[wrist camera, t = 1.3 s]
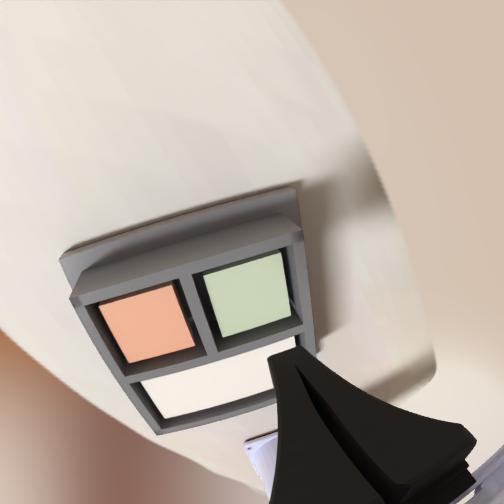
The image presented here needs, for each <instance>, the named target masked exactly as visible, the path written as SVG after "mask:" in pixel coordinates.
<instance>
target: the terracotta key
mask: <svg viewBox="0 0 504 504" xmlns="http://www.w3.org/2000/svg"><path fill="white" fill-rule="evenodd" d="M99 308H100V310H101V312H102V314H103V316H104V318H105V320H106V322H107V324H108V326H109V328H110V330H111V332H112V334H113V335H114V337H115V339H116V341H117V343H118V345H119V346H120V348H121V350H122V352H123V353H124V355H125V357H126V359H127V360H128V362H129V363H132V362H136V361H140V360H144V359H148V358H152V357H156V356H159V355H163V354H167V353H171V352H174V351H178V350H182V349H185V348H189V347H192V346H195V342H194V337H193V331H192V328H191V325H190V323H189V320H188V318H187V315H186V312H185V310H184V307H183V304H182V302H181V299H180V296H179V293H178V291H177V288H176V285H175V282H174V280H171V281H167V282H164V283H161V284H157V285H154V286H150V287H147V288H143V289H140V290H137V291H133V292H130V293H126V294H123V295H120V296H116V297H113V298H109V299H106V300H102V301H100V303H99Z"/></svg>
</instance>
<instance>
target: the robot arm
mask: <svg viewBox="0 0 504 504" xmlns="http://www.w3.org/2000/svg"><path fill="white" fill-rule="evenodd" d="M267 362H268V366H269V371H270V375H271V379H272V383H273V387H274V390H275V393H276V399H277V414H278V432H275V433H272V434H269V435H266V436H263V437H260V438H257V439H254V440H250V441H247V442H245V443H244V444H243V446H244V449H245V451H246V453H247V455H248V457H249V459H250V461H251V463H252V465H253V467H254V468H255V470H256V472H257V474H258V476H259V477H260V478H261V481H262V483H263V486H264V489H265V491H266V494H267V497H268V499H269V504H456V503H457V502H459V501H460V500H462V499H463V498H464V497H465V496H467V495H468V494H469V493H470V492H471V491H473V490H474V489H475V488H476V489H475V494H474V496H473V497H472V498H471V499H470V500H469V501H467V502H466V503H465V504H504V445H503V446H502V447H501V448H500V449H499V450H498V451H497V452H496V453H495V454H494V455H493V456H491V457H490V458H489V459H488V460H487V461H486V462H485V463H484V464H482V465H481V466H480V467H479V468H478V469H477V470H476V471H474V472H473V473H472V474H471V473H470V472H469V471H468V470H467V468H468V467H469V465H468V463H467V462H466V461H465V458H466V457H467V456H468V455H469V453H470V452H471V451H472V450H473V448H474V447H475V445H476V442H477V440H476V439H475V437H474V436H473V435H472V434H471V433H470V432H469V431H468V430H467V429H466V428H465V427H464V426H463V425H462V424H458V423H452V422H446V421H441V420H437V419H432V418H429V417H424V416H421V415H418V414H415V413H412V412H409V411H406V410H403V409H401V408H398V407H395V406H393V405H391V404H388V403H386V402H384V401H382V400H380V399H378V398H375V397H373V396H372V395H370V394H368V393H366V392H364V391H362V390H361V389H359V388H357V387H356V386H354V385H352V384H351V383H349V382H348V381H346V380H345V379H343V378H342V377H340V376H339V375H338V374H336V373H335V372H333V371H332V370H331V369H329V368H328V367H327V366H325V365H324V364H323V363H322V362H320V361H319V360H318V359H317V358H315V357H314V356H313V355H312V354H311V353H310V352H309V351H307V350H306V349H305V348H304V347H303V346H301V345H299V346H296V347H293V348H291V349H288V350H285V351H282V352H279V353H277V354H274V355H271V356H269V357H268V358H267Z"/></svg>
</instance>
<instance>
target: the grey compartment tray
mask: <svg viewBox="0 0 504 504" xmlns="http://www.w3.org/2000/svg"><path fill="white" fill-rule="evenodd" d="M275 249H278V250H279V251H280V252H281V256H282V262H283V268H284V274H285V280H286V286H287V292H288V299H289V305H290V312H291V316H288V317H285V318H282V319H279V320H276V321H273V322H270V323H267V324H264V325H261V326H258V327H255V328H252V329H249V330H246V331H242V332H239V333H236V334H233V335H230V336H226V337H222V334H221V331H220V327H219V324H218V321H217V318H216V315H215V312H214V309H213V306H212V303H211V300H210V296H209V293H208V290H207V287H206V284H205V280H204V277H203V274H202V271H205V270H208V269H211V268H215V267H218V266H222V265H225V264H228V263H232V262H235V261H238V260H242V259H245V258H249V257H252V256H255V255H259V254H262V253H265V252H269V251H272V250H275ZM59 262H60V264H61V266H62V268H63V271H64V273H65V275H66V277H67V280H68V282H69V284H70V286H71V288H72V290H73V291H72V293H71V295H70V298H69V299H70V301H71V303H72V305H73V307H74V309H75V311H76V313H77V315H78V317H79V319H80V321H81V322H82V324H83V326H84V328H85V330H86V331H87V333H88V335H89V337H90V338H91V340H92V342H93V344H94V345H95V347H96V349H97V350H98V352H99V354H100V355H101V357H102V358H103V360H104V362H105V363H106V365H107V366H108V368H109V370H110V371H111V373H112V374H113V376H114V377H115V379H116V380H117V382H118V383H119V385H120V386H121V388H122V389H123V391H124V392H125V393H126V395H127V396H128V398H129V399H130V400H131V402H132V403H133V405H134V406H135V407H136V409H137V410H138V411H139V413H140V414H141V415H142V417H143V418H144V419H145V421H146V422H147V423H148V425H149V426H150V427H151V428H152V430H153V431H154V432H155V433H156V435H162V434H167V433H171V432H176V431H180V430H185V429H189V428H193V427H197V426H201V425H205V424H209V423H213V422H217V421H220V420H224V419H227V418H231V417H234V416H238V415H241V414H244V413H247V412H251V411H254V410H257V409H260V408H263V407H266V406H269V405H272V404H275V403H277V399H276V393H275V390H274V388H272V389H269V390H266V391H263V392H260V393H257V394H254V395H251V396H248V397H245V398H241V399H238V400H235V401H231V402H228V403H225V404H221V405H218V406H214V407H210V408H207V409H203V410H199V411H195V412H191V413H187V414H183V415H179V416H175V417H170V418H166V419H165V418H164V417H163V415H162V414H161V412H160V411H159V409H158V408H157V406H156V405H155V403H154V402H153V400H152V399H151V397H150V396H149V394H148V393H147V391H146V390H145V388H144V387H143V385H142V383H141V382H140V381H143V380H147V379H151V378H156V377H160V376H164V375H168V374H171V373H175V372H179V371H183V370H187V369H190V368H194V367H197V366H201V365H204V364H208V363H211V362H215V361H218V360H222V359H225V358H228V357H231V356H235V355H238V354H241V353H244V352H247V351H250V350H254V349H257V348H260V347H263V346H266V345H269V344H272V343H275V342H277V341H280V340H283V339H286V338H289V337H292V336H294V338H295V345H296V346H299V345H301V346H303V347H304V348H305V349H306V350H307V351H309V352H310V353H311V354H312V355H313V356H314V357H315V358H316V346H315V335H314V325H313V315H312V305H311V296H310V287H309V278H308V269H307V261H306V253H305V246H304V238H303V230H302V228H301V221H300V214H299V207H298V200H297V193H296V190H295V189H293V188H291V187H285V188H281V189H277V190H273V191H269V192H265V193H261V194H257V195H253V196H250V197H246V198H242V199H238V200H234V201H231V202H227V203H223V204H219V205H216V206H212V207H209V208H205V209H201V210H198V211H194V212H191V213H187V214H184V215H180V216H177V217H174V218H170V219H167V220H164V221H160V222H157V223H154V224H150V225H147V226H144V227H141V228H137V229H134V230H131V231H128V232H125V233H122V234H118V235H115V236H112V237H109V238H106V239H103V240H100V241H97V242H94V243H91V244H88V245H85V246H82V247H79V248H76V249H74V250H71V251H68V252H65V253H63V254H62V256H61V257H60V259H59ZM171 280H174V282H175V285H176V288H177V291H178V293H179V296H180V299H181V302H182V304H183V307H184V310H185V312H186V315H187V318H188V320H189V323H190V325H191V328H192V331H193V337H194V342H195V346H192V347H189V348H185V349H182V350H178V351H174V352H171V353H167V354H163V355H159V356H156V357H152V358H148V359H144V360H140V361H136V362H132V363H129V362H128V360H127V359H126V357H125V355H124V353H123V352H122V350H121V348H120V346H119V345H118V343H117V341H116V339H115V337H114V335H113V334H112V332H111V330H110V328H109V326H108V324H107V322H106V320H105V318H104V316H103V314H102V312H101V310H100V308H99V303H100V301H102V300H106V299H109V298H113V297H116V296H120V295H123V294H126V293H130V292H133V291H137V290H140V289H143V288H147V287H150V286H154V285H157V284H161V283H164V282H167V281H171Z"/></svg>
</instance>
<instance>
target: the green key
mask: <svg viewBox="0 0 504 504" xmlns="http://www.w3.org/2000/svg"><path fill="white" fill-rule="evenodd" d="M202 274H203V277H204V280H205V284H206V287H207V290H208V293H209V296H210V300H211V303H212V306H213V309H214V312H215V315H216V318H217V321H218V324H219V327H220V331H221V334H222V337H226V336H230V335H233V334H236V333H239V332H242V331H246V330H249V329H252V328H255V327H258V326H261V325H264V324H267V323H270V322H273V321H276V320H279V319H282V318H285V317H288V316H291V312H290V305H289V299H288V292H287V286H286V280H285V274H284V268H283V262H282V256H281V252H280V251H279V250H278V249H275V250H272V251H269V252H265V253H262V254H259V255H255V256H252V257H249V258H245V259H242V260H238V261H235V262H232V263H228V264H225V265H222V266H218V267H215V268H211V269H208V270H205V271H202Z"/></svg>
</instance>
